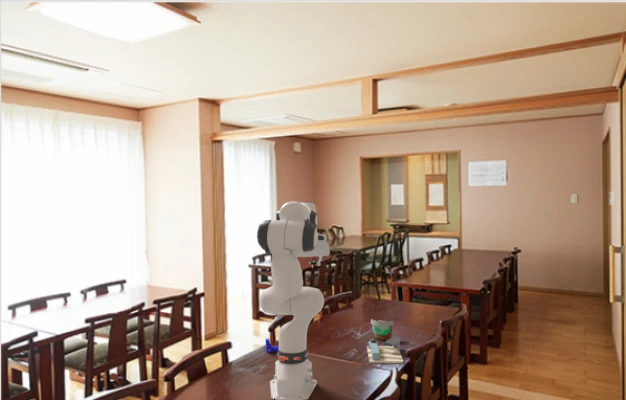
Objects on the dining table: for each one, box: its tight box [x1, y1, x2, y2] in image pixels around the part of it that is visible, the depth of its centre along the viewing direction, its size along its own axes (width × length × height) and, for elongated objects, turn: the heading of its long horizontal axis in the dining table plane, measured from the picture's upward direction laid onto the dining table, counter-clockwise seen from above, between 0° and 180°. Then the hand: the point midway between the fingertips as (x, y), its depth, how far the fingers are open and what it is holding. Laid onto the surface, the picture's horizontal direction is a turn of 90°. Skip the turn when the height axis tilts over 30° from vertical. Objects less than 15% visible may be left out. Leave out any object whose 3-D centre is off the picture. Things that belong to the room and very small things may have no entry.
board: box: [366, 337, 404, 364], centre depth 206 cm, size 20×15×5 cm
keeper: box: [383, 336, 401, 350], centre depth 210 cm, size 4×11×6 cm, turn 147°
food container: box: [370, 318, 395, 342], centre depth 229 cm, size 12×6×10 cm, turn 62°
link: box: [368, 340, 380, 360], centre depth 207 cm, size 18×4×3 cm, turn 177°
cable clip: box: [265, 338, 279, 354], centre depth 217 cm, size 12×4×6 cm, turn 106°
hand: (308, 266), depth 206 cm, fingers open, 8 cm apart
